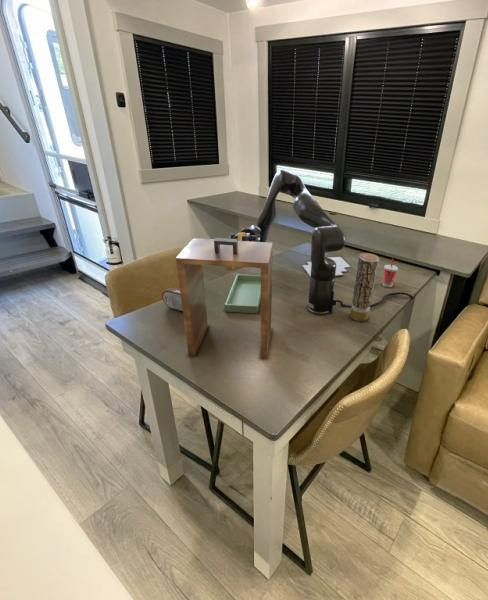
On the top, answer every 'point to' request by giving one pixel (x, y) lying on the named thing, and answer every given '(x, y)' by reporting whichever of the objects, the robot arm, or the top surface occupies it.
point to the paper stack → (339, 266)
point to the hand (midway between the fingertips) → (239, 238)
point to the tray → (244, 294)
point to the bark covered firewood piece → (364, 286)
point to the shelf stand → (221, 255)
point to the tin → (172, 298)
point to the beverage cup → (389, 274)
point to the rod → (238, 240)
